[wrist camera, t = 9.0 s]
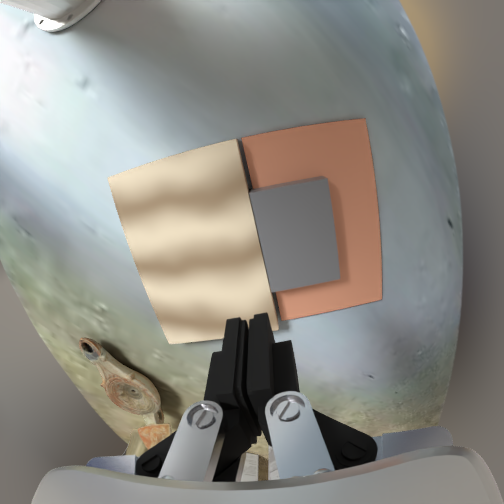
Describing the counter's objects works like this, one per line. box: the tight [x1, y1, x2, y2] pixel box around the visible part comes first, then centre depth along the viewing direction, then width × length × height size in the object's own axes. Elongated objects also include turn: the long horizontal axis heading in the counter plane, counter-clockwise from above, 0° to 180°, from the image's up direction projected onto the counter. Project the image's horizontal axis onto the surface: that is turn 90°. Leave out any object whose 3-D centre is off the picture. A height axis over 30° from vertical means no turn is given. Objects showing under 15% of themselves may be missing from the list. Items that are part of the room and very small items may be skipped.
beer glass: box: [122, 428, 148, 457], centre depth 37 cm, size 7×7×15 cm
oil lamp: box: [79, 338, 171, 450], centre depth 33 cm, size 9×21×10 cm, turn 27°
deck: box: [108, 139, 279, 344], centre depth 28 cm, size 20×13×2 cm, turn 12°
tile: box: [249, 176, 340, 292], centre depth 27 cm, size 10×7×2 cm
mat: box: [241, 118, 382, 321], centre depth 28 cm, size 20×12×1 cm, turn 13°
